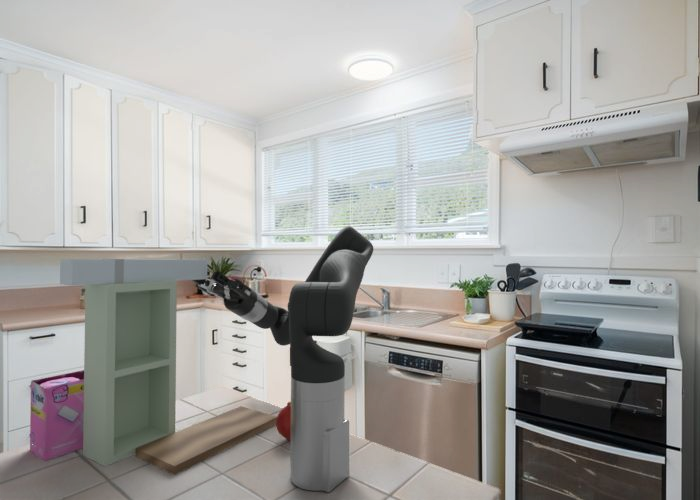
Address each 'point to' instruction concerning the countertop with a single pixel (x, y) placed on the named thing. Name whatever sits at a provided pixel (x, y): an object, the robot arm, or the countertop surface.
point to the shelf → (128, 367)
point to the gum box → (57, 415)
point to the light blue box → (129, 270)
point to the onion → (284, 422)
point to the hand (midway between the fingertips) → (201, 273)
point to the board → (204, 439)
